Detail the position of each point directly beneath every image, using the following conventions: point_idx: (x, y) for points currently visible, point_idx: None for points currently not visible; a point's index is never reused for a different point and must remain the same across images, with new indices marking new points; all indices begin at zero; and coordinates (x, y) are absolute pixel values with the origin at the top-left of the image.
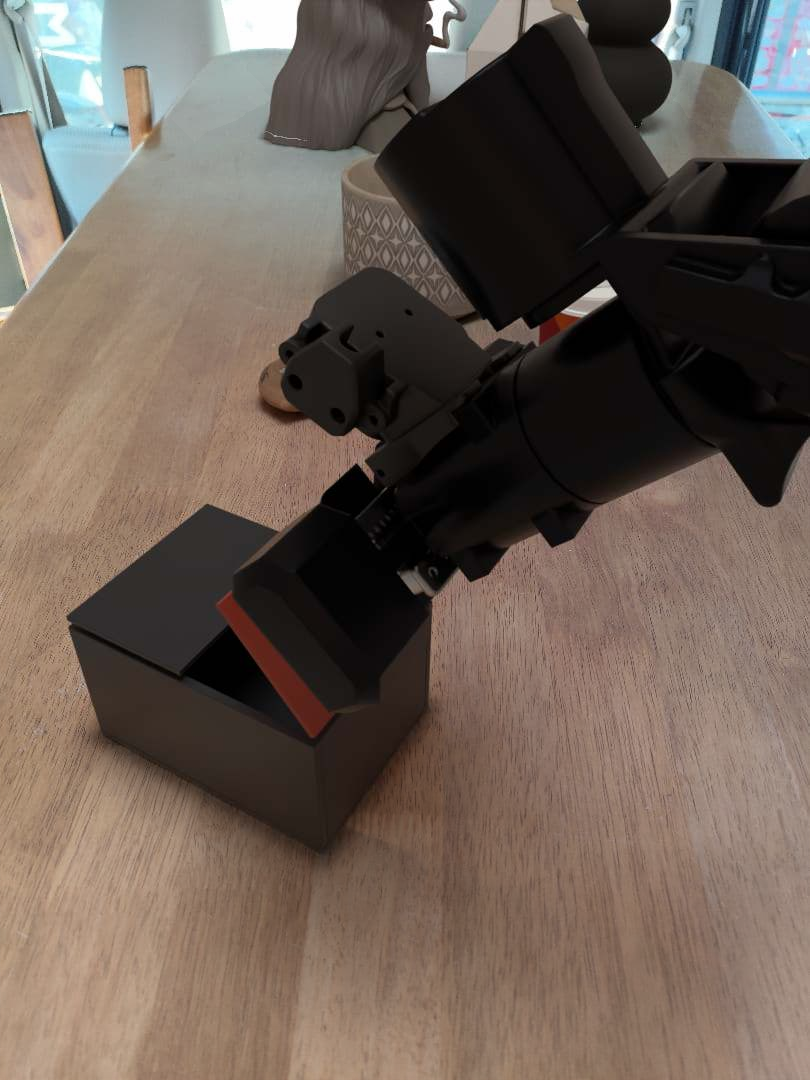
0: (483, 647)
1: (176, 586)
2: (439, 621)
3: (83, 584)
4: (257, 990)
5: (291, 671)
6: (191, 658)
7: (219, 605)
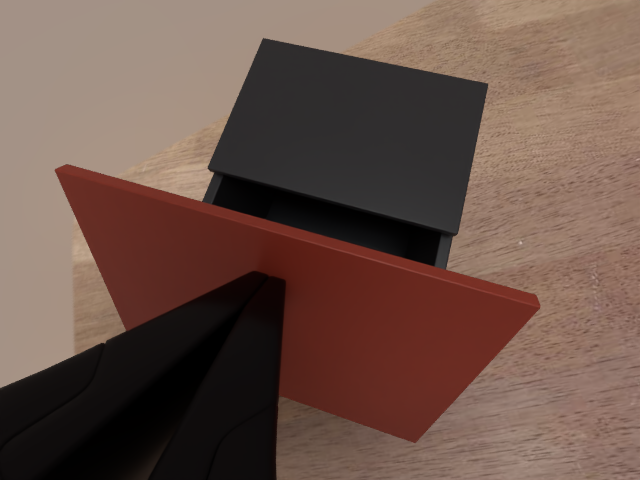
0: (476, 430)
1: (330, 113)
2: (496, 374)
3: (428, 60)
4: (120, 319)
5: (135, 302)
6: (226, 172)
7: (56, 171)
